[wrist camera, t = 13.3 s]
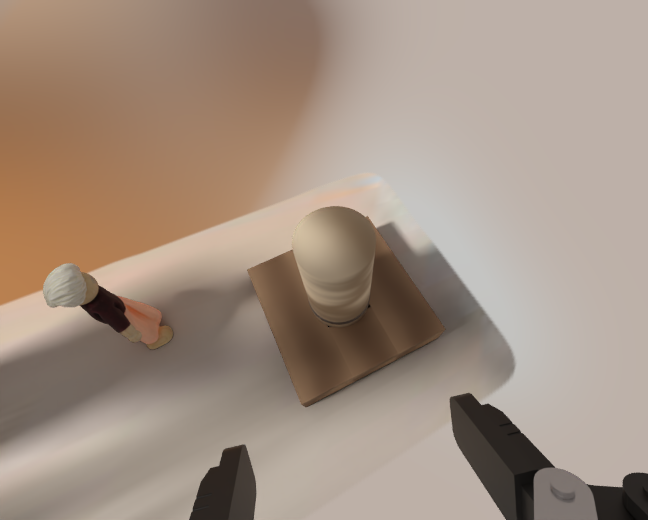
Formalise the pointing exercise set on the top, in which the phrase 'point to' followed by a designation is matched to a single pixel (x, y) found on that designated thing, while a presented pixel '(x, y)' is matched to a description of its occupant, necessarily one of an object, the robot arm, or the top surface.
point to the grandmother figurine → (105, 306)
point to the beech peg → (336, 263)
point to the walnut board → (343, 342)
